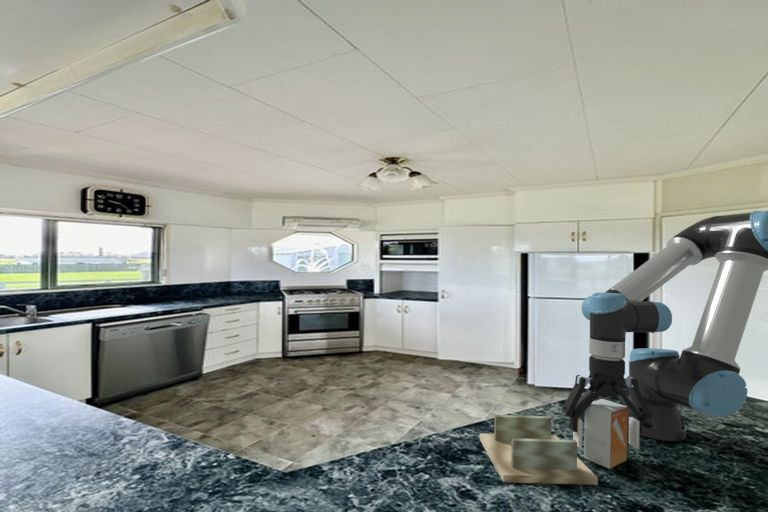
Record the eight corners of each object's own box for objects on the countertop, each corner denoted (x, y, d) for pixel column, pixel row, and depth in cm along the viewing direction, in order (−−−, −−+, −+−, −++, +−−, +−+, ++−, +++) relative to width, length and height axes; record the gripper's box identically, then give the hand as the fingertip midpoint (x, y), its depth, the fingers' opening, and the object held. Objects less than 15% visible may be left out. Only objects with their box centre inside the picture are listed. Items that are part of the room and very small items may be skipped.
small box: (610, 470, 87) (611, 412, 88) (583, 458, 93) (583, 403, 93) (627, 460, 92) (628, 406, 92) (600, 449, 97) (601, 397, 97)
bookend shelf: (555, 441, 101) (555, 412, 101) (597, 484, 81) (598, 448, 81) (479, 439, 101) (480, 410, 101) (503, 482, 81) (503, 446, 81)
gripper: (562, 359, 89) (560, 451, 89) (670, 362, 89) (668, 454, 89) (548, 352, 97) (547, 437, 96) (647, 354, 97) (646, 439, 96)
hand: (605, 445), depth 92 cm, fingers open, 13 cm apart
